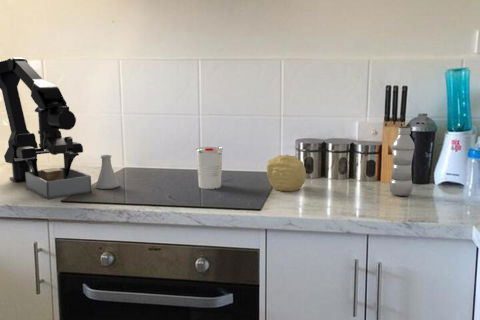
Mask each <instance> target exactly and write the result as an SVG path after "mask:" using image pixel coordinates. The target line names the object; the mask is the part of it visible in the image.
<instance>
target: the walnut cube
mask: <svg viewBox="0 0 480 320" xmlns="http://www.w3.org/2000/svg"><path fill="white" fill-rule="evenodd" d="M59 168H60V167H52V168H44V169H43V168H42V169H40V170H41V179H44V180H46V181H55V180H62V179H63V170H61V169H59Z"/></svg>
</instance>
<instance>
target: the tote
mask: <svg viewBox="0 0 480 320" xmlns="http://www.w3.org/2000/svg"><path fill="white" fill-rule="evenodd" d="M58 168H59V169H61V170H63V179H62V180H55V181H46V180H44V179H41V170H42V169H40V170H38V177H37V176H35V175H34V174H33V172H32V171H31V172H25V176H26V181H25V188H26V189H27V190H30V191H31V192H33V193H35V194H37V195H38V196H40V197H42V198H44V199H46V200H52V199H58V198H65V197H70V196H77V195H82V194H83V195H84V194H89V193H92V190H93V189H92V176H91V175H90V174H87V173H84V172H81V171H80V170H79V171H78V170H76V169H72V168H71V167H70V170H69V174H68V176H66V175H65V169H64V167H58Z"/></svg>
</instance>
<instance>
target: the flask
mask: <svg viewBox="0 0 480 320" xmlns="http://www.w3.org/2000/svg"><path fill="white" fill-rule="evenodd" d="M100 158H101V167H100V170H99V175H98V178H97V181H96V185H95V189H102V190H109V189H111V190H112V189H115V188H118V187H119V186H120V182H119V180H118V179H117V176H116V174H115V171H114V169H113V165H112V162H111V161H112V160H111V158H112V155H111V154H103V155H100Z"/></svg>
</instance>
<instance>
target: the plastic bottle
mask: <svg viewBox="0 0 480 320" xmlns="http://www.w3.org/2000/svg"><path fill="white" fill-rule="evenodd" d="M411 133H412V131H411V127H410V126H397V131H396V134H397V136H396V137H395V138H394V140H393V141H392V144H391V155H392V172H391V178H390V182H389V191H390V193H391V194H392V195H396V196H399V197H402V196H403V197H404V196H405V197H406V196H409V195H411V193H412V191H413V187H414V186H413V180H412V164H413V158H414V153H415V143H414V141H413V138H412V137H411V136H410V135H411Z"/></svg>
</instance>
